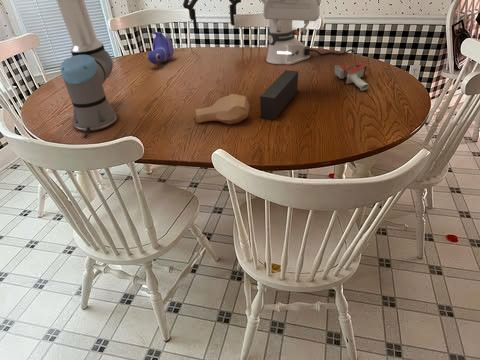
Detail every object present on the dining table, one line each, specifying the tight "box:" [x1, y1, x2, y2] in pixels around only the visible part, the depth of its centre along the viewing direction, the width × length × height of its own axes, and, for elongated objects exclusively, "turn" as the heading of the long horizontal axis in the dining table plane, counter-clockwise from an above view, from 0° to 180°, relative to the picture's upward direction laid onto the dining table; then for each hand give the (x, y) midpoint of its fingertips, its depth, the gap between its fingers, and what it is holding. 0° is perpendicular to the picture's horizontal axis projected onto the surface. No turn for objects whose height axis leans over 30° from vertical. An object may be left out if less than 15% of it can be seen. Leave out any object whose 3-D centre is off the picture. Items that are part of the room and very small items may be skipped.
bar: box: [259, 69, 299, 121], centre depth 136 cm, size 28×5×8 cm, turn 155°
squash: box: [195, 93, 251, 125], centre depth 127 cm, size 11×20×9 cm, turn 92°
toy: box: [146, 31, 175, 69], centre depth 182 cm, size 10×17×25 cm
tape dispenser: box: [334, 61, 370, 92], centre depth 151 cm, size 18×5×20 cm
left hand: (214, 26), depth 128 cm, fingers open, 13 cm apart
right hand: (290, 32), depth 132 cm, fingers open, 8 cm apart
